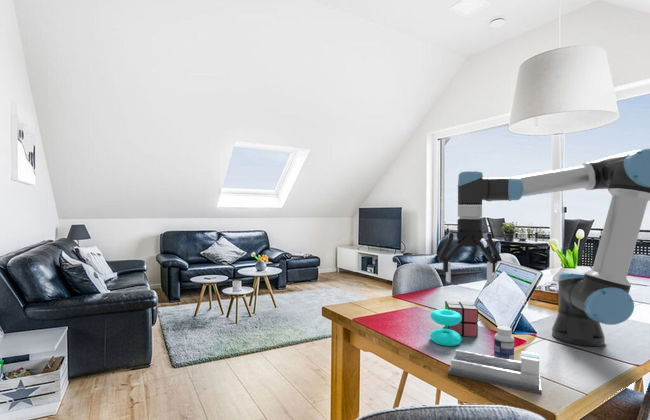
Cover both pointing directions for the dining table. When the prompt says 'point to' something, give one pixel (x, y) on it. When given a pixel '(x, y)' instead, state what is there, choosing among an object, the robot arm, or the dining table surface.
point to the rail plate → (493, 371)
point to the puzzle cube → (464, 318)
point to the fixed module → (530, 363)
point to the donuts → (446, 335)
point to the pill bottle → (504, 343)
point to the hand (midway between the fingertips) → (468, 282)
